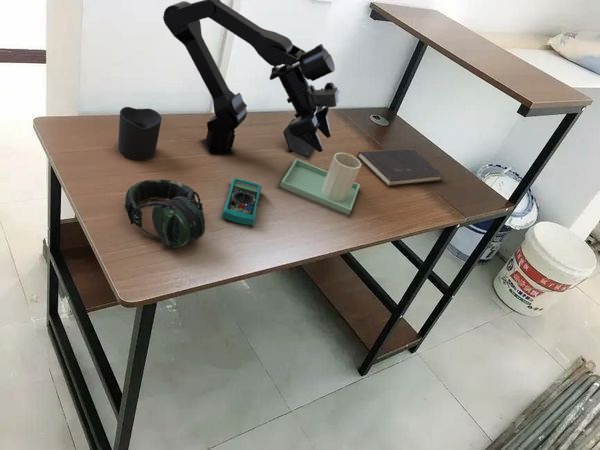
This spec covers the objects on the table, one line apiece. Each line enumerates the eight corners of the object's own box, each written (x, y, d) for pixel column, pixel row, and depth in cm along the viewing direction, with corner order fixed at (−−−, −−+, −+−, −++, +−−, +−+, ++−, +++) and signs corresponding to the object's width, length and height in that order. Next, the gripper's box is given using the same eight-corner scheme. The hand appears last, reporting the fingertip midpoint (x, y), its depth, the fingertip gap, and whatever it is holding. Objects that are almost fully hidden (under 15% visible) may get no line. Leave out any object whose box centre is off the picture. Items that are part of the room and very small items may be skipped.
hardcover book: (440, 181, 163) (443, 175, 162) (387, 187, 150) (390, 180, 149) (408, 153, 173) (411, 147, 171) (356, 156, 160) (359, 150, 158)
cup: (335, 204, 134) (349, 170, 128) (316, 188, 137) (328, 155, 131) (352, 197, 139) (366, 165, 133) (333, 183, 142) (346, 150, 136)
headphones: (234, 214, 109) (171, 177, 118) (203, 187, 97) (137, 148, 106) (197, 267, 107) (136, 225, 116) (162, 246, 95) (97, 201, 104)
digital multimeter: (220, 220, 116) (223, 210, 114) (230, 185, 128) (233, 175, 126) (252, 228, 117) (255, 218, 115) (259, 193, 129) (262, 183, 127)
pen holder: (142, 166, 123) (147, 130, 117) (108, 151, 124) (111, 114, 118) (163, 151, 131) (168, 116, 125) (130, 137, 131) (134, 101, 126)
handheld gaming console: (316, 156, 148) (304, 124, 144) (292, 164, 150) (280, 132, 146) (318, 143, 159) (307, 113, 155) (296, 151, 160) (284, 121, 156)
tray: (279, 188, 133) (281, 181, 132) (293, 164, 145) (296, 158, 143) (348, 216, 132) (351, 210, 131) (357, 190, 144) (360, 184, 142)
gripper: (317, 86, 114) (347, 148, 120) (334, 64, 129) (360, 119, 135) (275, 105, 119) (305, 163, 125) (296, 82, 134) (322, 134, 140)
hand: (325, 144), depth 131 cm, fingers open, 9 cm apart
